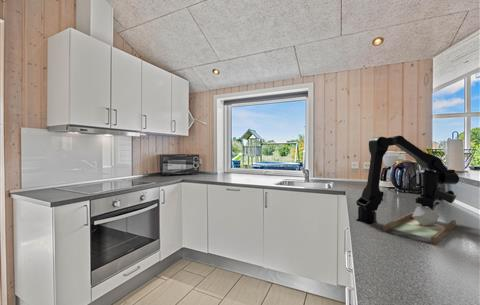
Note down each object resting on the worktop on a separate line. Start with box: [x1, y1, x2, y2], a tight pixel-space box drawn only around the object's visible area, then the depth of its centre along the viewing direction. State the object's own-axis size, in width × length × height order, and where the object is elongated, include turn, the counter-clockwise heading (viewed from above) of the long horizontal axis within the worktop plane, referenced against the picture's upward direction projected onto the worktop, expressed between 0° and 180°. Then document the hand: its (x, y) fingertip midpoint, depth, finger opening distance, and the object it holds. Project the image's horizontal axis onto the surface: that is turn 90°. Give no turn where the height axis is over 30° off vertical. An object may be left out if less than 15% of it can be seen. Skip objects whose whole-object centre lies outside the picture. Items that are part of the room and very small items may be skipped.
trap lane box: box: [383, 211, 457, 246], centre depth 92 cm, size 16×34×2 cm, turn 126°
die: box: [412, 206, 440, 226], centre depth 95 cm, size 8×9×10 cm
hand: (429, 217), depth 100 cm, fingers closed
